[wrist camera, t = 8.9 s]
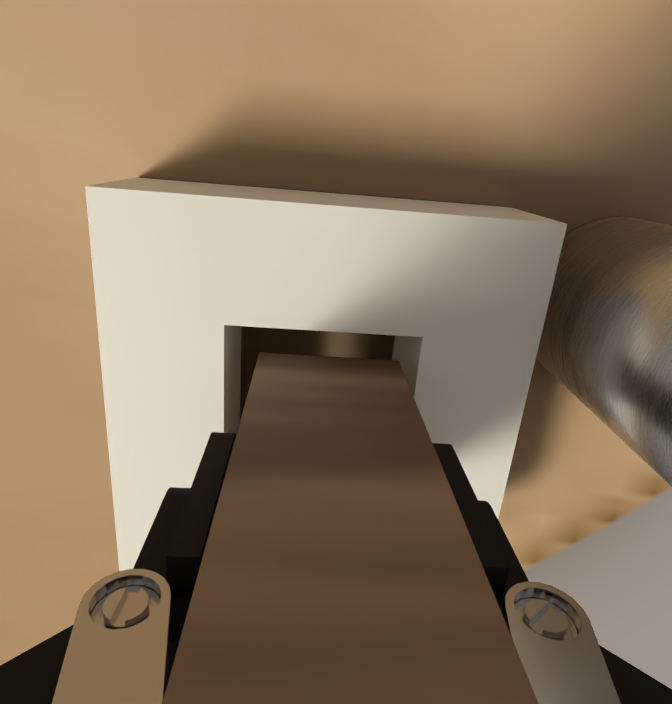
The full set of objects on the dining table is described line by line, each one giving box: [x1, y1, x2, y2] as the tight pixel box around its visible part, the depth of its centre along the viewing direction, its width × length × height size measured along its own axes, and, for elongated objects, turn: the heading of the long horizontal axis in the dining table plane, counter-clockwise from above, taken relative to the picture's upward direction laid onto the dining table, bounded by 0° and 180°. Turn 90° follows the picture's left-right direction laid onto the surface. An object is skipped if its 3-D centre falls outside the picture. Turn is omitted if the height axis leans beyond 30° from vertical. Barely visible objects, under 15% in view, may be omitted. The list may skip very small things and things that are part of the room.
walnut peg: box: [162, 353, 539, 704], centre depth 10 cm, size 4×4×12 cm
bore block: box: [85, 178, 567, 571], centre depth 17 cm, size 12×12×4 cm
